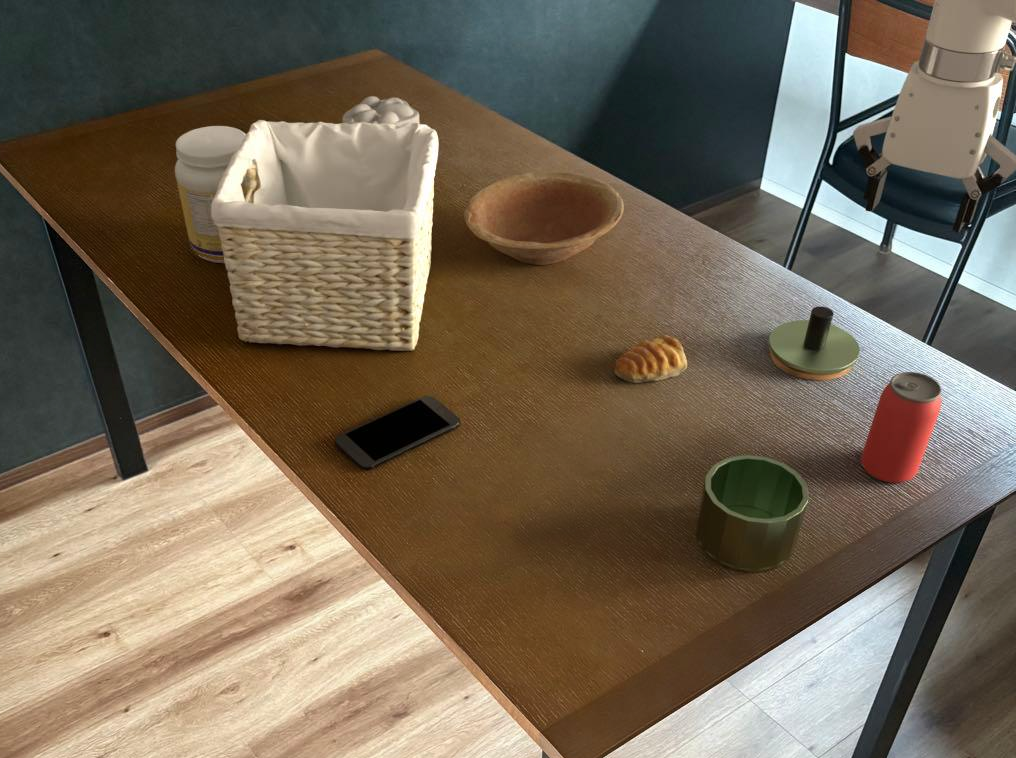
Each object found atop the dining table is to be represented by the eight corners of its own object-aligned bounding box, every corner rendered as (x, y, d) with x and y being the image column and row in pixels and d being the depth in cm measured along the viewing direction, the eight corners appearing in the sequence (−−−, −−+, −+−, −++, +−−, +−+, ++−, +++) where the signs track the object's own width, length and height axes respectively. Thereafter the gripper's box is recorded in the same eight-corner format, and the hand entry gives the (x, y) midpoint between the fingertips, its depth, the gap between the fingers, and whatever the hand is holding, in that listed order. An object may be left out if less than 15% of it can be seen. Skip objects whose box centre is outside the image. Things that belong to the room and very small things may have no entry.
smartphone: (464, 425, 135) (464, 419, 134) (364, 473, 128) (364, 468, 128) (429, 397, 139) (429, 392, 139) (331, 443, 133) (330, 437, 132)
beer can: (862, 445, 132) (887, 364, 124) (918, 456, 130) (948, 375, 122) (857, 478, 128) (883, 396, 119) (915, 490, 126) (945, 408, 118)
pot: (807, 527, 122) (822, 476, 116) (773, 586, 115) (787, 535, 110) (718, 493, 126) (728, 443, 121) (680, 549, 119) (689, 498, 114)
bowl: (496, 203, 177) (497, 157, 172) (636, 229, 171) (641, 181, 166) (441, 273, 162) (439, 224, 156) (593, 303, 155) (597, 253, 150)
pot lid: (869, 343, 147) (880, 303, 142) (841, 387, 139) (852, 347, 135) (785, 318, 151) (794, 279, 147) (754, 360, 144) (763, 320, 139)
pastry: (632, 394, 140) (635, 369, 137) (602, 368, 144) (604, 343, 141) (690, 373, 143) (694, 348, 140) (660, 348, 147) (663, 324, 145)
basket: (445, 258, 165) (441, 117, 150) (428, 359, 146) (422, 209, 130) (270, 253, 166) (249, 113, 151) (231, 352, 147) (202, 203, 132)
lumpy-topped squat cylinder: (426, 157, 190) (424, 108, 184) (358, 173, 186) (354, 123, 180) (402, 135, 197) (399, 87, 191) (335, 149, 192) (330, 101, 186)
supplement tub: (212, 222, 173) (192, 118, 161) (282, 232, 171) (267, 127, 159) (176, 260, 165) (153, 153, 153) (250, 271, 162) (232, 163, 151)
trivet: (863, 348, 147) (865, 343, 146) (837, 389, 140) (839, 384, 140) (786, 325, 151) (787, 320, 151) (757, 364, 144) (758, 359, 144)
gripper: (1057, 63, 108) (1002, 221, 120) (885, 33, 115) (849, 186, 127) (1041, 88, 103) (986, 250, 115) (863, 55, 110) (828, 212, 122)
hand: (914, 216), depth 121 cm, fingers open, 9 cm apart
